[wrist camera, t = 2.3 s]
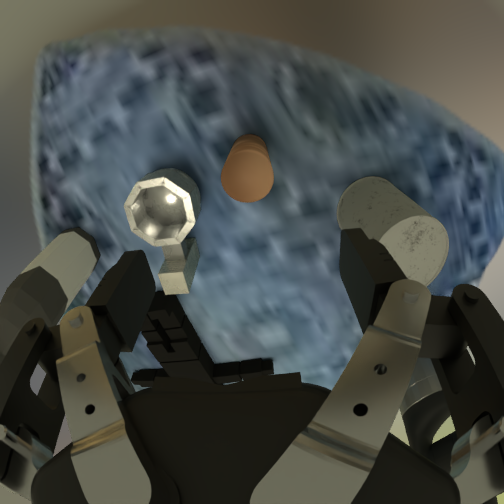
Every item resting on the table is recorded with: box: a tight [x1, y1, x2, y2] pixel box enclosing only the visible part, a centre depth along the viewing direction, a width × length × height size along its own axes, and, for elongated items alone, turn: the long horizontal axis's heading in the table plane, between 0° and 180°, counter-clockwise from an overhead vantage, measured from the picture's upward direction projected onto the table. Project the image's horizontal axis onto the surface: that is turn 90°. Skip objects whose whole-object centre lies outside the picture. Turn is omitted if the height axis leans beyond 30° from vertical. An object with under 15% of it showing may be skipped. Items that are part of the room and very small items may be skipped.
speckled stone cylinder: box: [337, 176, 449, 287], centre depth 30 cm, size 10×10×12 cm
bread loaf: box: [221, 134, 274, 202], centre depth 26 cm, size 4×4×12 cm
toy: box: [131, 291, 274, 387], centre depth 48 cm, size 30×5×30 cm
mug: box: [124, 168, 201, 295], centre depth 32 cm, size 8×13×8 cm, turn 7°
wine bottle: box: [0, 227, 100, 365], centre depth 25 cm, size 8×8×30 cm
